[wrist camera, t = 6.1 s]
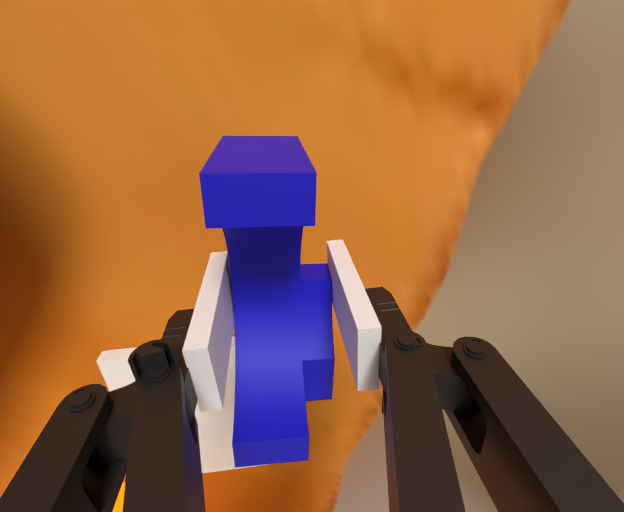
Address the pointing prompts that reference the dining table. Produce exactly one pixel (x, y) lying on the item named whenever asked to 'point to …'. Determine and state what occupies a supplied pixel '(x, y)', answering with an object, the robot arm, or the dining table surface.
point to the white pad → (211, 424)
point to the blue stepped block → (271, 292)
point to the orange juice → (120, 500)
